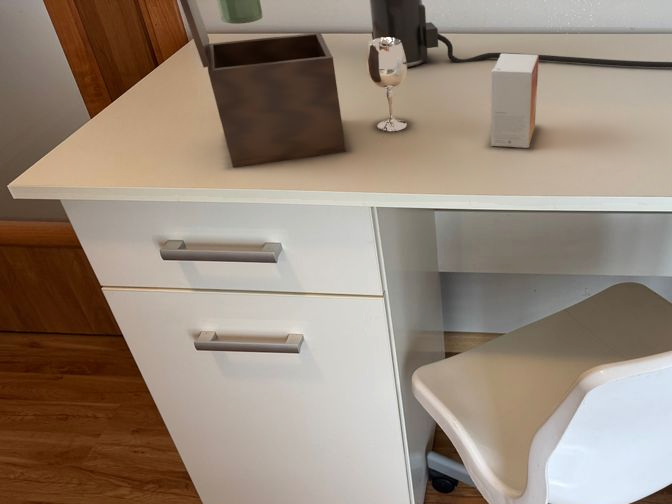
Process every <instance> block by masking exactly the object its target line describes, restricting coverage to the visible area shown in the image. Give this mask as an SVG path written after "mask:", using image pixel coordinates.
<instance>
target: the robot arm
mask: <svg viewBox="0 0 672 504" xmlns="http://www.w3.org/2000/svg"><path fill="white" fill-rule="evenodd" d="M369 6H370V7H369V8H370V17H371V27H372V31H371V38H372V39H371V40H373V39H376V38H384V37H390V38H397V39H399V40H401V43H402V46H403V49H404V52H405V57H406V62H407V68H410V67H416V66H418V65H420V64H424V63H428V62H429V53H428V49H432V48H439V41H440V42H442V43H444V45H445V46H446V47H447V58H448V59H449V60H450V61H451V62H452V63H454V64H462V63H472V62H479V61H480V62H481V61H484V60H488V59H499V57H500V54H501V53H502V52H487V53H482V54H478V55H476V56H472V57H469V58H458V57H457V56H455V55H454V54H453V53H454V51H453V50H454V47H453V44H452V41H450V39H448V38H447V37H446V36H444V35H442V34H440V33H439V31H438V29H439V28H438V27H437V26H436V25H435V24H434V23H433V22H432V21H430V22H427V16H426V6H425V5H424V4H423V0H369ZM504 53H505V54H520V53H519V52H518V53H517V52H504ZM526 54H527V55H536V54H534V53H533V54H532V53H526ZM537 55H538V56H539V61H544V62H556V63H557V62H559V63H570V64H571V63H572V64H584V65H586V64H587V65H596V66H597V65H598V66H599V65H600V66H612V67H613V66H614V67H616V66H617V67H633V68H634V67H635V68H663V69H664V68H666V69H669V68H671V69H672V61H647V60H646V61H645V60H644V61H643V60H623V59H608V58H592V57H579V56H578V57H576V56H565V55H564V56H562V55H551V54H550V55H549V54H537Z"/></svg>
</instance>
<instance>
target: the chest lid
mask: <svg viewBox="0 0 672 504" xmlns="http://www.w3.org/2000/svg"><path fill="white" fill-rule="evenodd" d="M179 2H180V5H181V8H182V10H183V13H184V17H185V19H186V22H187V25H188V27H189V30H190V33H191V36H192V39H193V42H194V45H195V48H196V51H197V53H198V56H199V58H200V59H199V60H200V62H201V65H202V67H203V68H205V69H206V68H208V67H210V51H209V44H210V37H209V35H208V31H207V29H206V26H205V23H204V20H203V16H202V14H201V11H200V8H199V5H198V2H197V0H179Z"/></svg>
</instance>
